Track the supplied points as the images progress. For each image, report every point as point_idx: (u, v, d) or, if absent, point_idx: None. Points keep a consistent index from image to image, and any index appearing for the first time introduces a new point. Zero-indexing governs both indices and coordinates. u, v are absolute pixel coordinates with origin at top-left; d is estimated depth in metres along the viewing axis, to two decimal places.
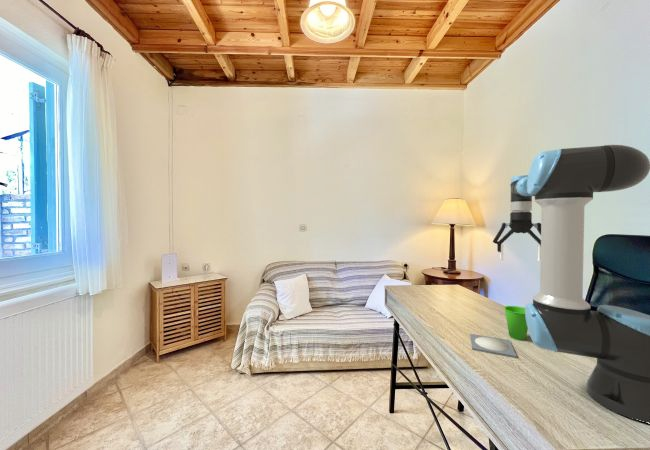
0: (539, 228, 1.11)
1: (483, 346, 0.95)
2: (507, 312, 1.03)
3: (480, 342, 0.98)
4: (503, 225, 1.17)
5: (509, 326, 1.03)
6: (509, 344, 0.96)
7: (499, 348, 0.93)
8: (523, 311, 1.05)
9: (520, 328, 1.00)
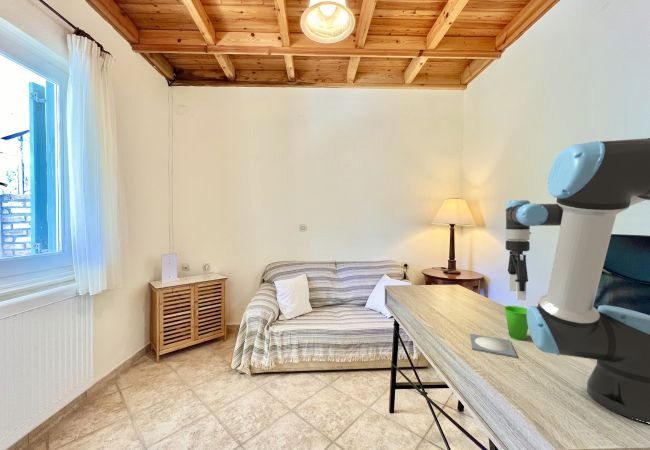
0: (517, 260, 0.98)
1: (483, 346, 0.95)
2: (507, 312, 1.03)
3: (480, 342, 0.98)
4: None
5: (509, 326, 1.03)
6: (509, 344, 0.96)
7: (499, 348, 0.93)
8: (523, 311, 1.05)
9: (520, 328, 1.00)
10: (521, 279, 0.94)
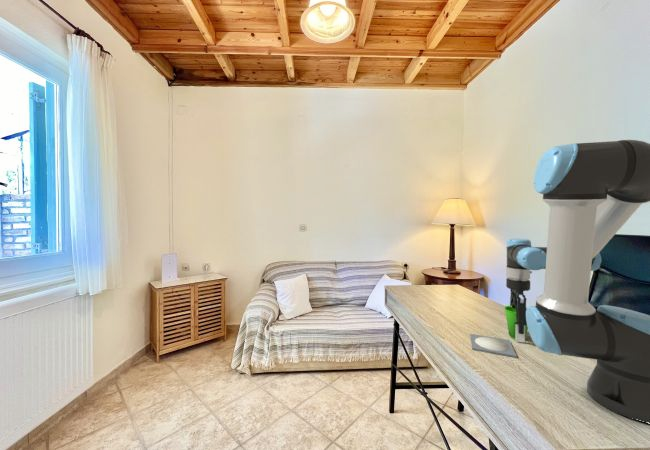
0: (517, 302, 0.98)
1: (483, 346, 0.95)
2: (507, 312, 1.03)
3: (480, 342, 0.98)
4: None
5: (509, 326, 1.03)
6: (509, 344, 0.96)
7: (499, 348, 0.93)
8: None
9: None
10: (520, 323, 0.96)
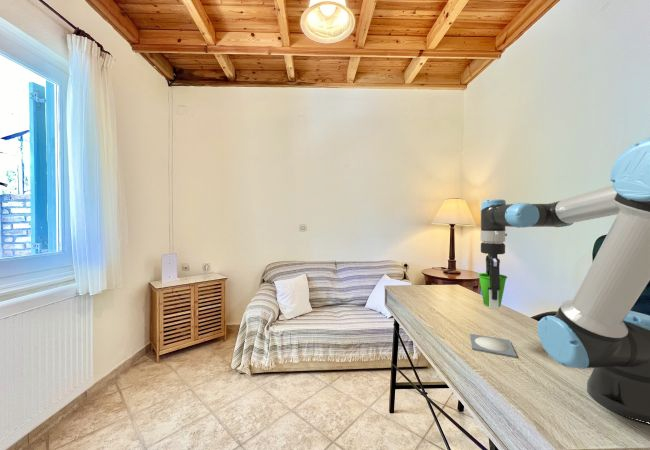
0: (490, 266, 0.91)
1: (483, 346, 0.95)
2: (481, 278, 0.96)
3: (480, 342, 0.98)
4: (486, 258, 1.02)
5: (483, 293, 0.96)
6: (509, 344, 0.96)
7: (499, 348, 0.93)
8: None
9: None
10: (493, 287, 0.89)
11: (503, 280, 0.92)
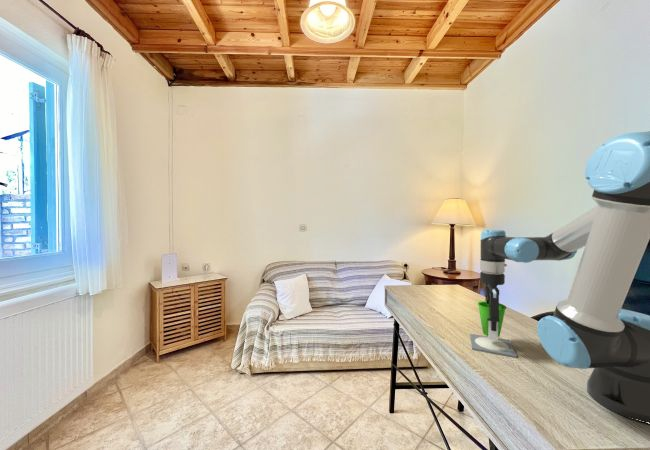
0: (490, 297, 0.91)
1: (483, 346, 0.95)
2: (480, 308, 0.96)
3: (480, 342, 0.98)
4: None
5: (482, 323, 0.97)
6: (509, 344, 0.96)
7: (499, 348, 0.93)
8: None
9: None
10: (492, 319, 0.89)
11: (502, 311, 0.93)
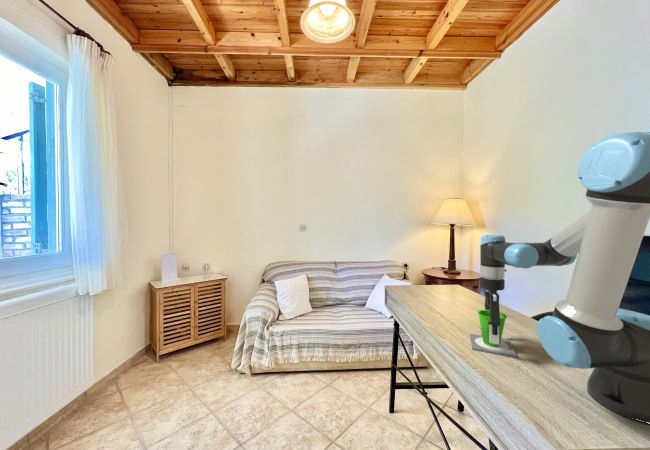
0: (490, 301, 0.91)
1: (483, 346, 0.95)
2: (480, 317, 0.96)
3: (480, 342, 0.98)
4: None
5: (482, 332, 0.96)
6: (509, 344, 0.96)
7: (499, 348, 0.93)
8: None
9: None
10: (493, 323, 0.88)
11: (502, 320, 0.93)
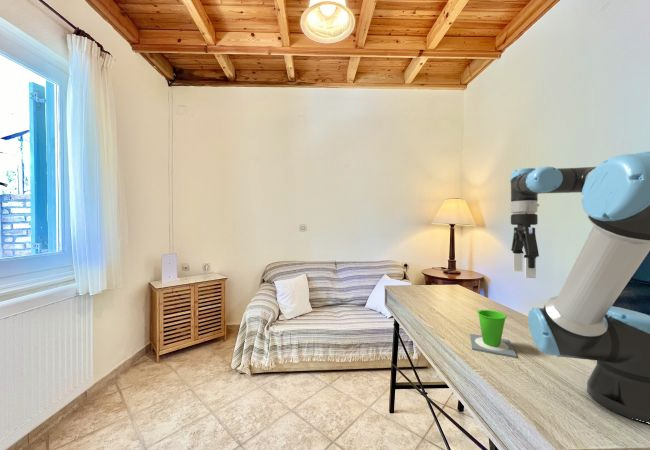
0: (525, 234, 0.87)
1: (483, 346, 0.95)
2: (480, 317, 0.96)
3: (480, 342, 0.98)
4: (514, 230, 0.99)
5: (482, 332, 0.96)
6: (509, 344, 0.96)
7: (499, 348, 0.93)
8: (498, 315, 0.98)
9: (493, 334, 0.93)
10: (531, 254, 0.84)
11: (502, 320, 0.93)
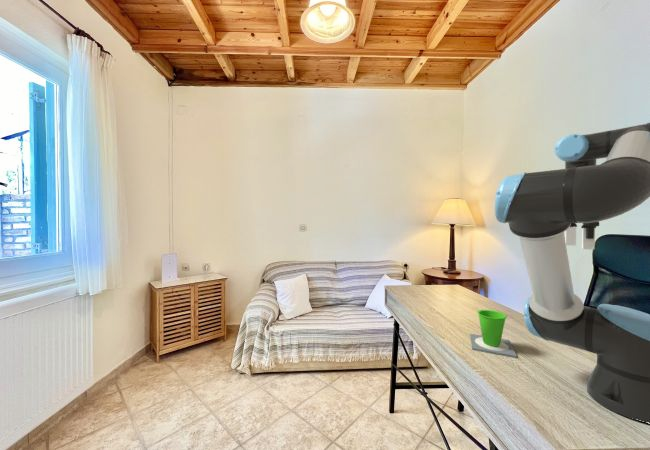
0: None
1: (483, 346, 0.95)
2: (480, 317, 0.96)
3: (480, 342, 0.98)
4: None
5: (482, 332, 0.96)
6: (509, 344, 0.96)
7: (499, 348, 0.93)
8: (498, 315, 0.98)
9: (493, 334, 0.93)
10: (590, 223, 0.80)
11: (502, 320, 0.93)
